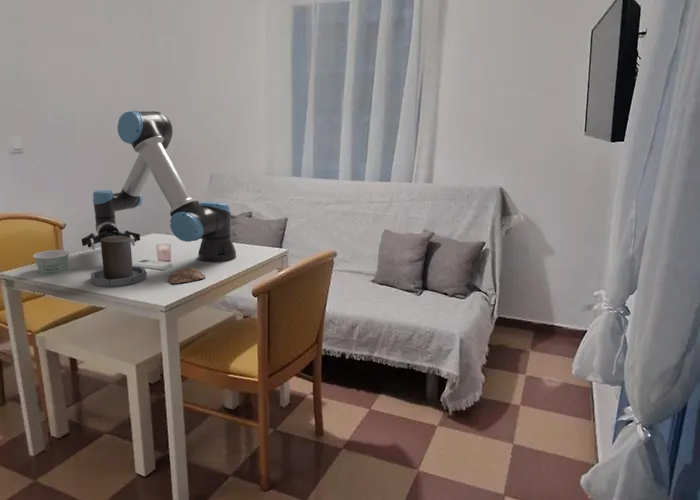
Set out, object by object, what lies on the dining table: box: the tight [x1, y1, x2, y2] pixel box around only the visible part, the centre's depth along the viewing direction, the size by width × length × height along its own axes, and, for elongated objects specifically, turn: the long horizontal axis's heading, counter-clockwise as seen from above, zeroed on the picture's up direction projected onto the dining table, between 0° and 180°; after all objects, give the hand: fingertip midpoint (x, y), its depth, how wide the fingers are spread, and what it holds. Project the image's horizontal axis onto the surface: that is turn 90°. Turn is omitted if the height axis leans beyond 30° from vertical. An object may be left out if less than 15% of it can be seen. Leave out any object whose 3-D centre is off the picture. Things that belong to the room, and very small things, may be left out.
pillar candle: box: [100, 235, 133, 280], centre depth 182 cm, size 10×10×15 cm
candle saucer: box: [90, 265, 148, 288], centre depth 184 cm, size 18×18×2 cm
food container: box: [32, 249, 71, 275], centre depth 192 cm, size 12×12×6 cm
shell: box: [167, 267, 206, 285], centre depth 186 cm, size 12×13×4 cm
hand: (113, 244), depth 190 cm, fingers open, 13 cm apart
